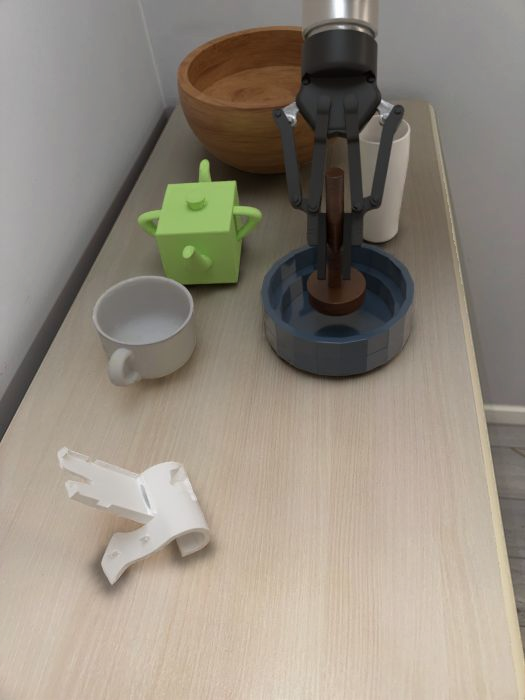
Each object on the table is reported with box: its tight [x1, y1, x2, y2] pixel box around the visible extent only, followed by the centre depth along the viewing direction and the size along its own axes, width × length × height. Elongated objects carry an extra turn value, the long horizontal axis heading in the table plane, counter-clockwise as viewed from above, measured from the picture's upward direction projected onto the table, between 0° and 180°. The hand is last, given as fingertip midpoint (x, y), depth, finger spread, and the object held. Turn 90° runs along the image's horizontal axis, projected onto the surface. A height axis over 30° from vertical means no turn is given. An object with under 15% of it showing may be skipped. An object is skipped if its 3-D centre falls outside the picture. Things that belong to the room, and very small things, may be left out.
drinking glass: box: [359, 114, 411, 244], centre depth 84 cm, size 7×7×15 cm
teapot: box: [137, 158, 263, 286], centre depth 84 cm, size 15×13×11 cm
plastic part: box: [56, 446, 212, 586], centre depth 58 cm, size 8×10×12 cm
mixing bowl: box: [260, 242, 415, 377], centre depth 76 cm, size 17×17×6 cm
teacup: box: [91, 275, 197, 388], centre depth 74 cm, size 14×11×8 cm
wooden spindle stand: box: [307, 166, 366, 317], centre depth 69 cm, size 6×6×16 cm
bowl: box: [176, 25, 338, 175], centre depth 98 cm, size 25×25×15 cm
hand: (334, 279), depth 68 cm, fingers closed on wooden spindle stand, 2 cm apart
